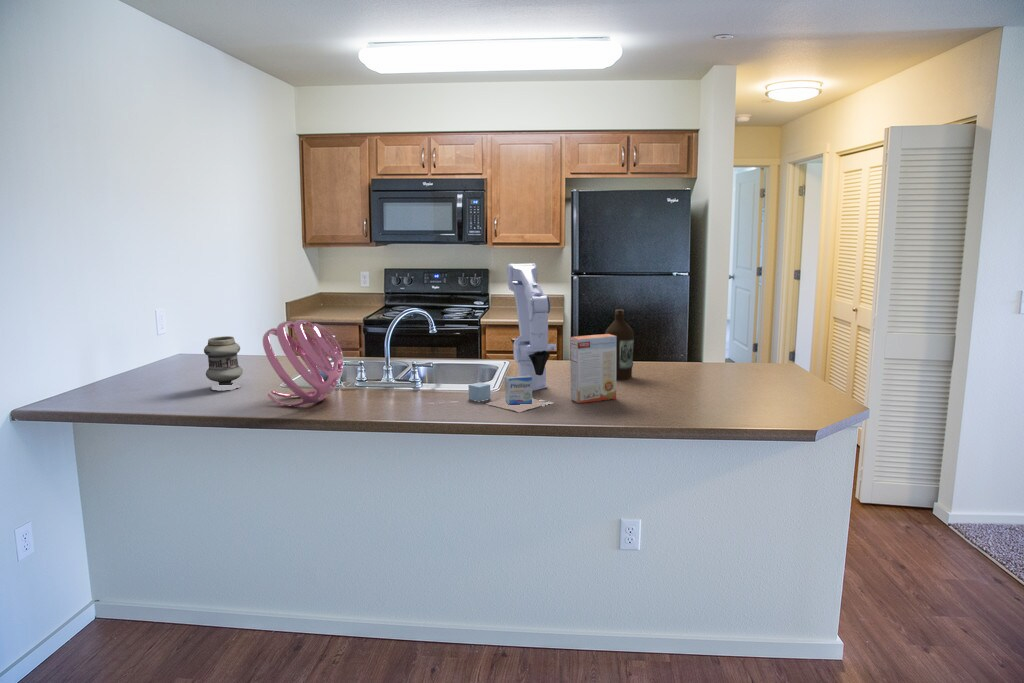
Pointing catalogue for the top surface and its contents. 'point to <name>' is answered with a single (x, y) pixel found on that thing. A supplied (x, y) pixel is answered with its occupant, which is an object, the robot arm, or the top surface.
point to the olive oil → (622, 345)
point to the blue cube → (479, 391)
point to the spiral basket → (306, 360)
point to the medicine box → (518, 390)
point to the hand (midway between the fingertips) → (539, 374)
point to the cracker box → (593, 368)
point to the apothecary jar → (223, 360)
